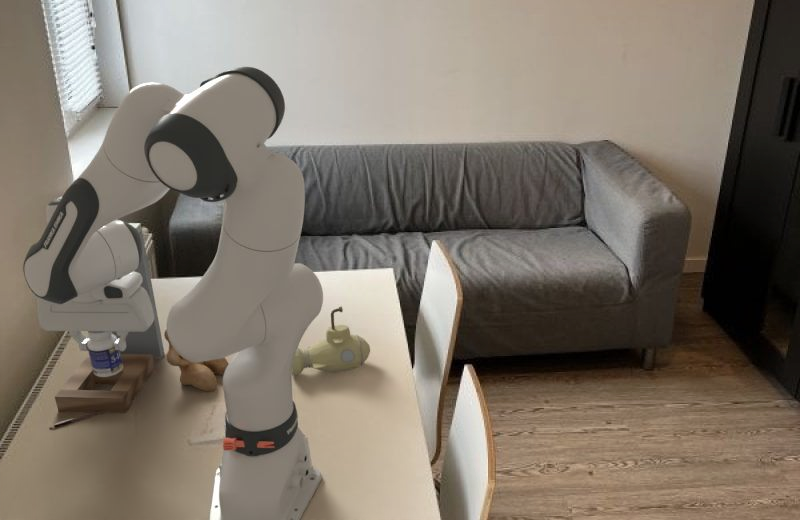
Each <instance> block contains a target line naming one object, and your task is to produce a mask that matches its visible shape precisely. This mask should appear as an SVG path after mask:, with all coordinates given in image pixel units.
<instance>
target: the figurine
mask: <svg viewBox="0 0 800 520" xmlns="http://www.w3.org/2000/svg"><path fill="white" fill-rule="evenodd" d="M163 336H164V339H165V340H166V341H167V343H168V351H167V353H166V355H165V356H166V361H167V363H168V364H169V365H170V366H173V367H178V368H179V370H180V376H179V381H180V382H179V383H180V384H181V385H183V386H190V385H191V386H193V387H195V388H196V389H199V390H202V391H204V392H214V391H216V390H217V388H218V382H217V378H216V376H215V374H216V375H219V376H224V372H225V370H226V368H227V366H228V364H229V362H228V360H227V357H224V358H220V359H215V360H210V361H204V362H197V363H192V362H190V361H188V360H186V359H184V358H183V357H182V356H180V355H179V354H178V353H177V352H176V351H175V349H174V348H173V347H172V345H171V343H170V341H169V338H168V334H167V328H166V329H165V330H164V335H163Z"/></svg>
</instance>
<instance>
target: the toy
mask: <svg viewBox="0 0 800 520" xmlns="http://www.w3.org/2000/svg"><path fill="white" fill-rule="evenodd" d="M343 311H344V309H343V306H342V305H341V306H339V307H337V308H335V309H333V310H332V311H331V312H330V324H331V325H330V326H329V327H328V329H327V330H326V335H325V336H326V338H325V339H323V340H320V341H318V342H316V343H314V344H313V345H312V346H308V347H307V348H306V349H303V350H302V349H300V348H299V347H298V348H297V350H296V353H295V356H294V360H293V364H292V373H291V375H292V376H296V375H301V374H302V372H303V371H304V369H308V368H309V369H310V368H311V369H315V370H318V371H321V372H322V371H323V372H328V373H341V372H346V371H349V370H353V369H356V368H359V366H363V364H364V363H365V362H366V361H367V359H368V358H369V356H370V353H371V346H370V344H369V343H368V341H366V339H365V338H363V337H361V336H360V335H358V334H351V331H350V327H349V325H345V324H339V325H335V313H337V312H339V313H343Z"/></svg>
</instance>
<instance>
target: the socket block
mask: <svg viewBox="0 0 800 520" xmlns="http://www.w3.org/2000/svg"><path fill="white" fill-rule="evenodd" d="M121 358H122V363H123V368H122V370H121V371H120V372H119V373H117V374H115V375H113V376H109V377H99V376H96V375H95V374H94V372H93V368H92V364H91V360H90V356H89V354H88V355H87V356H86V358H84V360H82V362H81V363H80V365H78V367H77V368H76V370H74V372H72V373H73V374H72V375H71V376H70V377H69V378H68V379H67V380H66V382H65V383H64V385H62V387H61V388H60V389H59V391H58V392H57V393H56V394H55V395H54V400H55V403H56V408H57V412H71V413H72V412H74V413H75V412H76V413H77V412H78V413H79V412H80V413H94V412H98V411H103V412H104V413H109V414H110V413H111V414H112V413H113V414H116V413H117V414H126V413H127V412H128V411H129V409H130V408H131V406H132V404H133V403H134V401H135V399H136V398H137V396H138V395H139V394H140V392H141V390H142V389H143V387H144V386H145V384H146V383H147V381H148V380H149V378H150V376H151V375H152V373H153V372H154V370H155V362H154V358H153V356H152V355H146V354H121ZM96 385H107V386H108V385H110V386H111V385H112V386H113V385H114V386H113V387H112V389H111V390H99V389H98V390H97V389H96V390H95V389H94V390H93V388H94V387H95V386H96Z"/></svg>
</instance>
